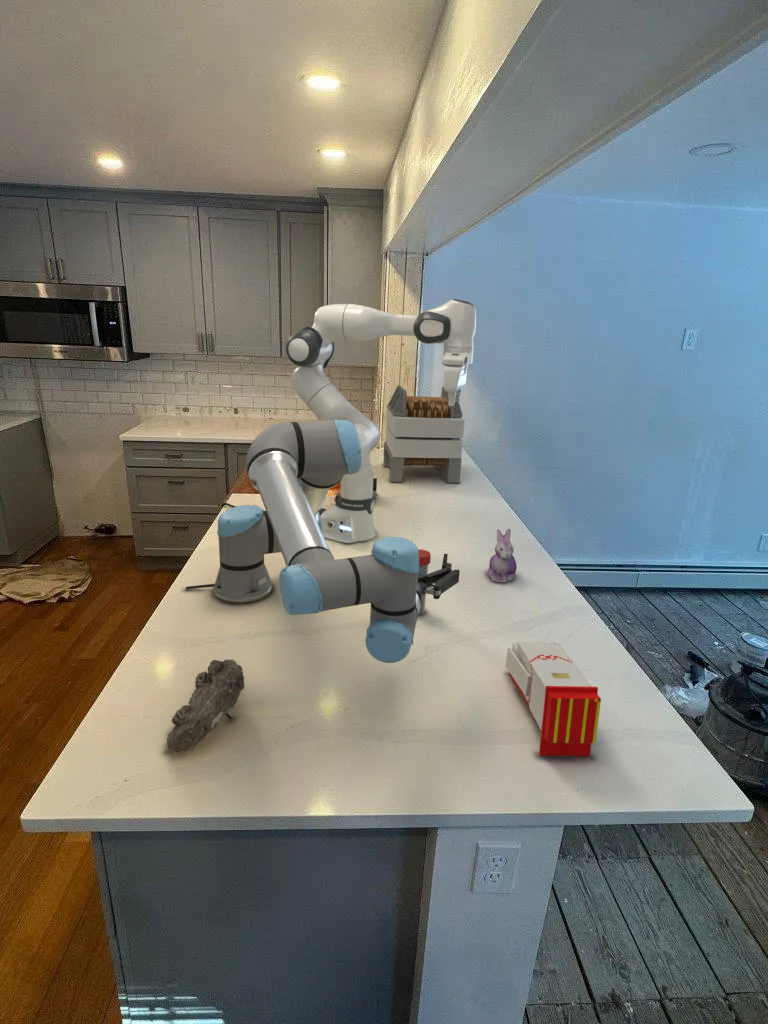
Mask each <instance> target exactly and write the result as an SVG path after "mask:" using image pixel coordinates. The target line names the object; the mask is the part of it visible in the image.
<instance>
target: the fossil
mask: <svg viewBox="0 0 768 1024" xmlns="http://www.w3.org/2000/svg"><path fill="white" fill-rule="evenodd" d="M243 670H244V669H243V667H242V665H240V664H237V662H236V661H235V660H234V659H232V658H231V659H227V658H226V659H224V660H223V661H222V660H217V659H212V660H211V661H210V663H209V665H208V666H207V671H201V672H199V673H198V674H197V675H196V676H195V680H194V684H195V685H194V687H195V689H194V690H193V693H192V694H191V697H190V698H189V700H188V704H184V705H182V706H181V707H180V709H177V710H176V711H175V713H174V715H173V716H172V718H171V723H172V724H173V727H172V730H171V731H170V732H168V734H167V738H166V741H167V742H166V745H167V749H168V750H169V751H173V752H174V753H176V754H178V753H182V752H188V751H189V752H192V751H193V750H195V748H196V747H197V746H199V744H200V743H201V742H203V741H204V740H205V739H206V738H207V737H208V736H209V735H210V734H211V733H212V732H214V730H215V729H217V727H218V726H219V724H220V722H221V721H222V720H223V719H224V718H225V716H226V717H227V719H229V720H233V717H232V715H230V714H229V710H230V709H231V708H234V706H235V704H236V703H237V702H238V699H239V697H240V695H241V693H242V691H243V690H245V689H244V688H245V675H244V671H243Z"/></svg>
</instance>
